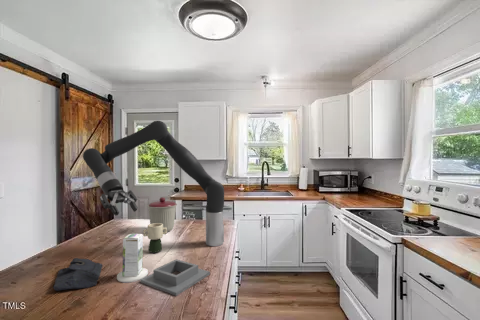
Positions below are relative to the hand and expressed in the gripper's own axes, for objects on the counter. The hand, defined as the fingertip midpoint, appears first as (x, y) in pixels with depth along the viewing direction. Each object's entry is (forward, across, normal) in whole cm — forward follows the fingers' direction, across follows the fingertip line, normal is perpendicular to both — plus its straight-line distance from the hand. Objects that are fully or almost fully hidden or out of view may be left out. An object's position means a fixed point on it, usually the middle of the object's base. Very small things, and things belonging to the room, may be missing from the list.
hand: (127, 212), depth 104 cm
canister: (-4, +45, +37) cm, 58 cm away
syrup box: (+22, -4, +10) cm, 24 cm away
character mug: (+14, +18, +19) cm, 29 cm away
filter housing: (+34, +2, -1) cm, 34 cm away
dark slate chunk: (+11, -16, +22) cm, 29 cm away
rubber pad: (+22, -4, +10) cm, 25 cm away
